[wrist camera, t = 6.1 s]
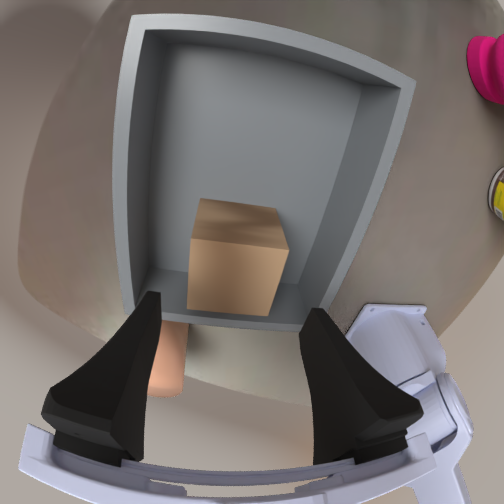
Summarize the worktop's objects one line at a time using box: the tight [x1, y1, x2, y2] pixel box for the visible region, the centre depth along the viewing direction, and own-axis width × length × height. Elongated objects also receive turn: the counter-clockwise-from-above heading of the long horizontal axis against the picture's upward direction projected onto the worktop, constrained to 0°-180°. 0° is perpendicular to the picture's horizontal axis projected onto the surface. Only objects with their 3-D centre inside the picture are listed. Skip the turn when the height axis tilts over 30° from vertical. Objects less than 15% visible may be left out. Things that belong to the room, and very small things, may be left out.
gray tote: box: [112, 14, 416, 332], centre depth 15 cm, size 14×18×5 cm
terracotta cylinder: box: [147, 320, 189, 398], centre depth 22 cm, size 5×5×7 cm
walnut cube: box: [187, 198, 289, 316], centre depth 17 cm, size 5×5×5 cm
